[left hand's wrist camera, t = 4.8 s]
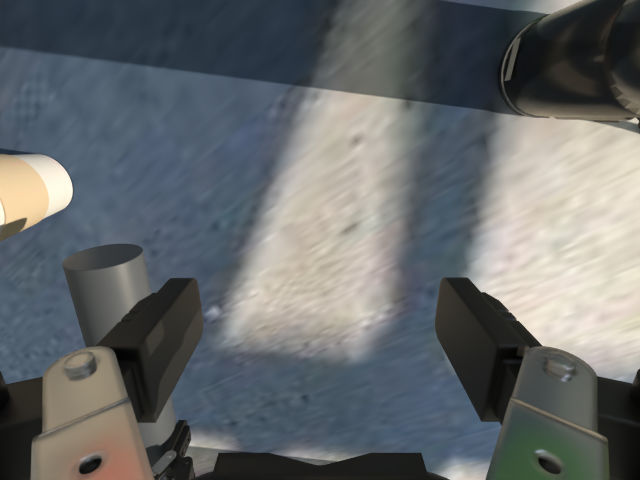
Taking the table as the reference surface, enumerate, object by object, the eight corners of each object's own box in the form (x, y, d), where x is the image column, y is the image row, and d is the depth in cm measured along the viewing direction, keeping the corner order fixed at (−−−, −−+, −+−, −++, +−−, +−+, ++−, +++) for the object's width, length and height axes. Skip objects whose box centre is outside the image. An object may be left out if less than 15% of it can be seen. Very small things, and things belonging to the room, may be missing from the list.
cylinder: (92, 243, 31) (43, 270, 26) (155, 243, 31) (118, 270, 26) (140, 436, 39) (110, 487, 34) (189, 437, 39) (167, 489, 34)
